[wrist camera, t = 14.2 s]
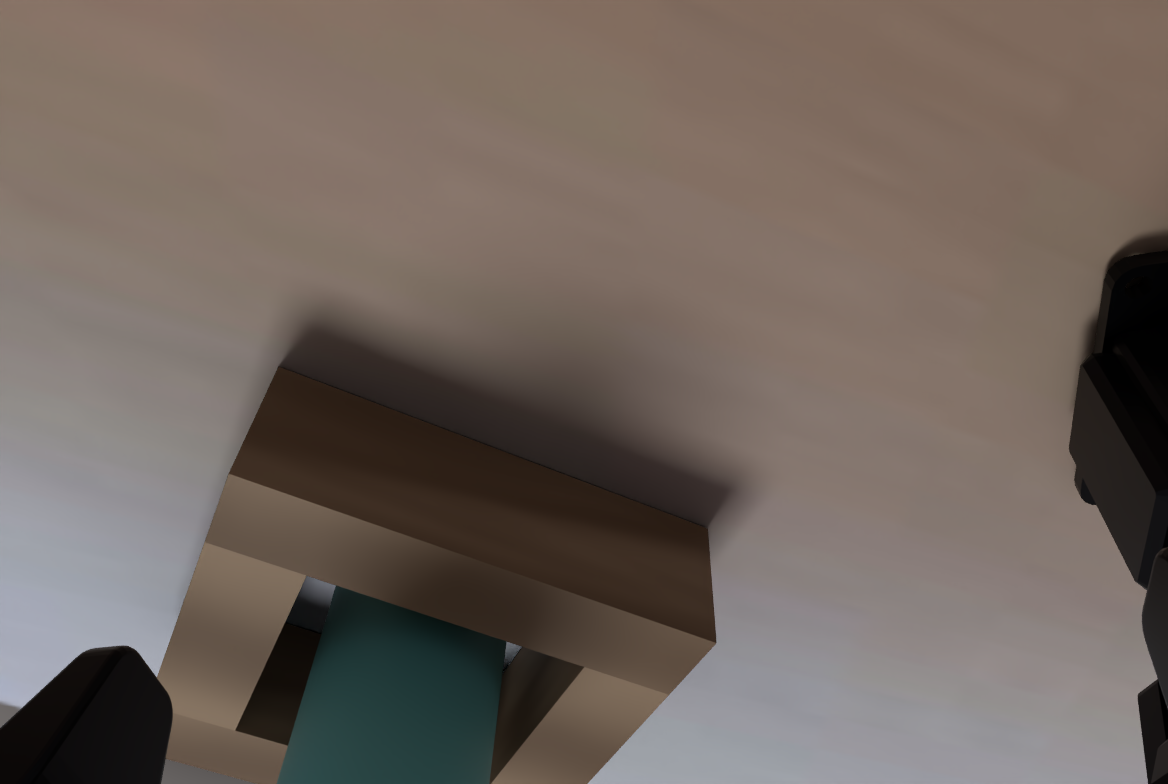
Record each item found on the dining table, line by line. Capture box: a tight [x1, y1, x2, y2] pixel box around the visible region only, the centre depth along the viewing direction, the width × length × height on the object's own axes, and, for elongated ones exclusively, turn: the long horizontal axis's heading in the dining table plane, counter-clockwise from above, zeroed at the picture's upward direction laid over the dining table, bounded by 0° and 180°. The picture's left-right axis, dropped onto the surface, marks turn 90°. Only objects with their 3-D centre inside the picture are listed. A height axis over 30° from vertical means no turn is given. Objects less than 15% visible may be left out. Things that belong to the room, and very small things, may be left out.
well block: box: [157, 367, 716, 784], centre depth 26 cm, size 11×11×4 cm
